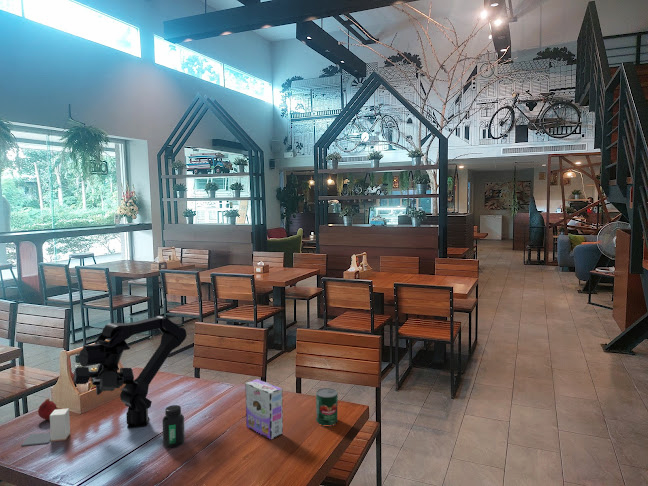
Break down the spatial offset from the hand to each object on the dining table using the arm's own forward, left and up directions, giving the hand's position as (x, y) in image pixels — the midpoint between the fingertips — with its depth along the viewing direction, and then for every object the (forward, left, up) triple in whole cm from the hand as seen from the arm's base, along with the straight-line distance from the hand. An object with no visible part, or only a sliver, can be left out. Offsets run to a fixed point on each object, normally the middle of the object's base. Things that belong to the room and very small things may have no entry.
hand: (97, 394), depth 161 cm
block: (+11, +5, -12) cm, 17 cm away
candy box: (-57, +15, -13) cm, 60 cm away
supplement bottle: (-27, +17, -12) cm, 34 cm away
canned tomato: (-80, +13, -12) cm, 82 cm away
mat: (+17, +5, -12) cm, 22 cm away
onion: (+20, -10, -12) cm, 25 cm away
